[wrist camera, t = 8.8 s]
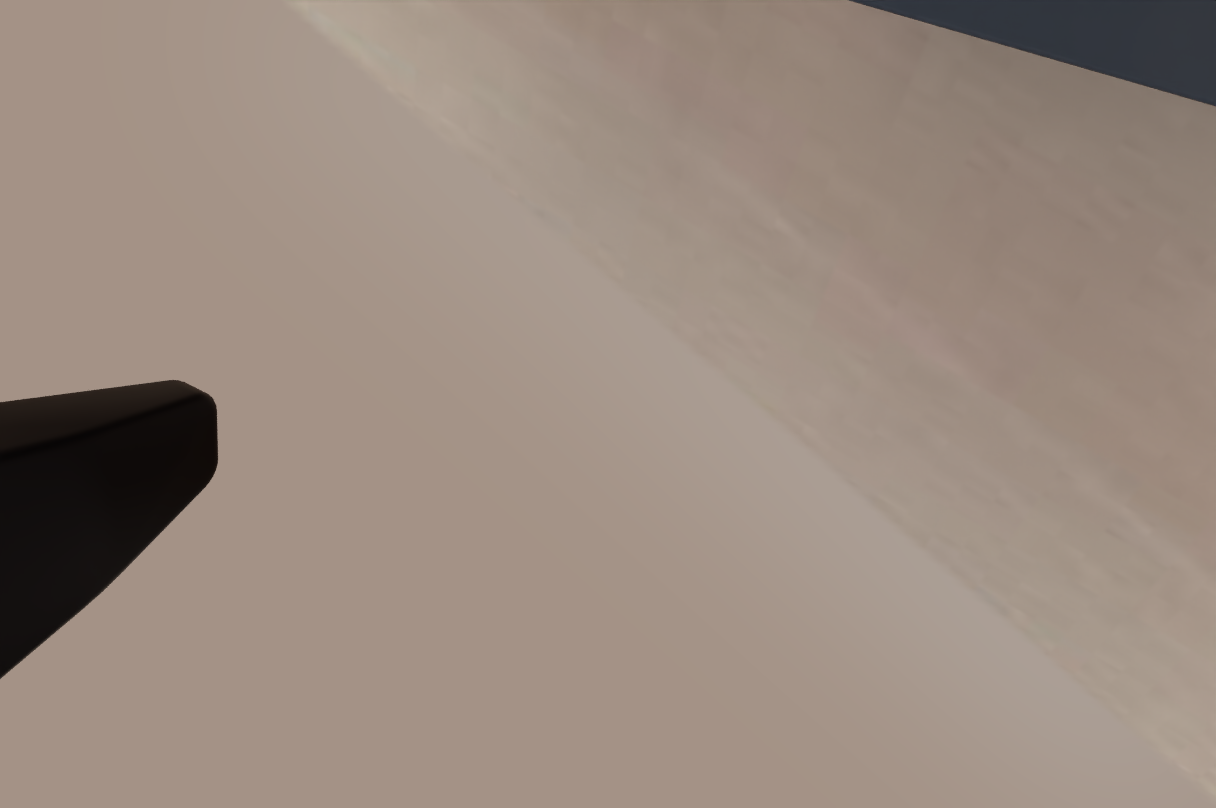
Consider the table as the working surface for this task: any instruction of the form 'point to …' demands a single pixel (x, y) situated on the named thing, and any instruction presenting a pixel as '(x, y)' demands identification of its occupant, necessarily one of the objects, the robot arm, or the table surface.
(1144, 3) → the shelf
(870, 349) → the table surface
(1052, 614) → the table surface
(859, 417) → the table surface
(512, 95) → the table surface
